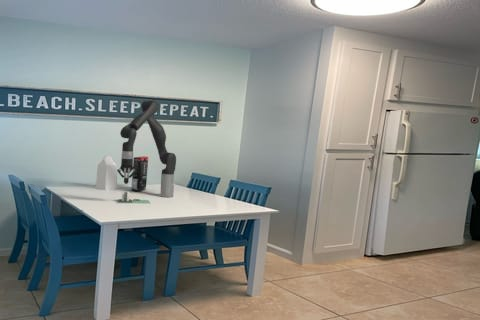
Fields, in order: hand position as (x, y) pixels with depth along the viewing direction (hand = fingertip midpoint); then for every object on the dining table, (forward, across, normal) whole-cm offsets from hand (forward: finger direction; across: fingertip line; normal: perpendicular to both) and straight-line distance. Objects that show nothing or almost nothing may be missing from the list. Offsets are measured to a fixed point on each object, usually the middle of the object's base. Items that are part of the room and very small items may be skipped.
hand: (126, 183), depth 303 cm
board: (+13, -5, 0) cm, 14 cm away
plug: (+12, 0, 0) cm, 12 cm away
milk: (+13, +9, -66) cm, 68 cm away
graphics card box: (+13, -16, -59) cm, 62 cm away
